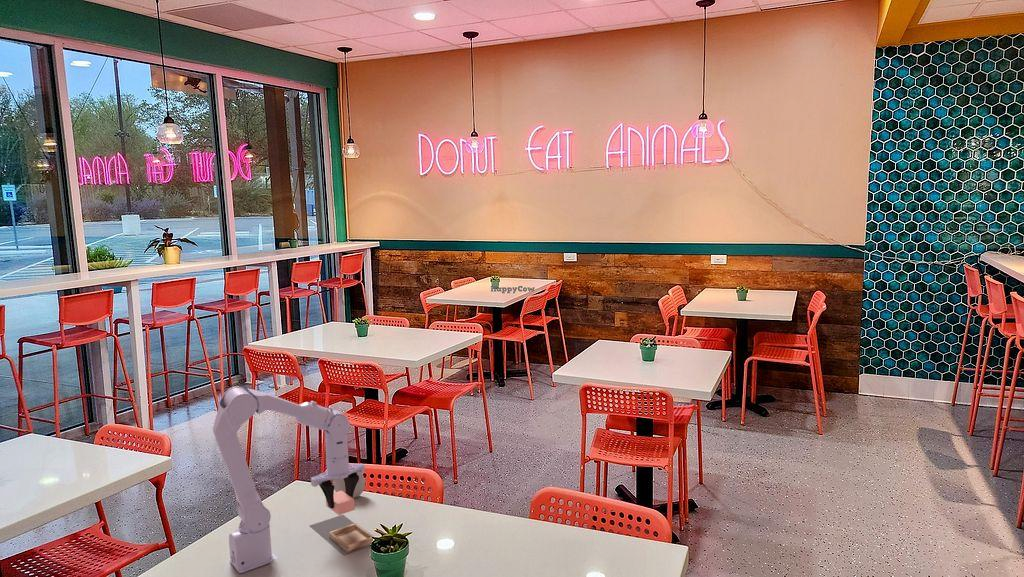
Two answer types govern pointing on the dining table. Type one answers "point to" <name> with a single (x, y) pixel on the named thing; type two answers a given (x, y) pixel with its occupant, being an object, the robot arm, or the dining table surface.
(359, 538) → the tray
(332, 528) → the mat
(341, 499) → the card deck
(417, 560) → the dining table surface
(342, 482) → the donut
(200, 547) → the dining table surface
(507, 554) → the dining table surface
